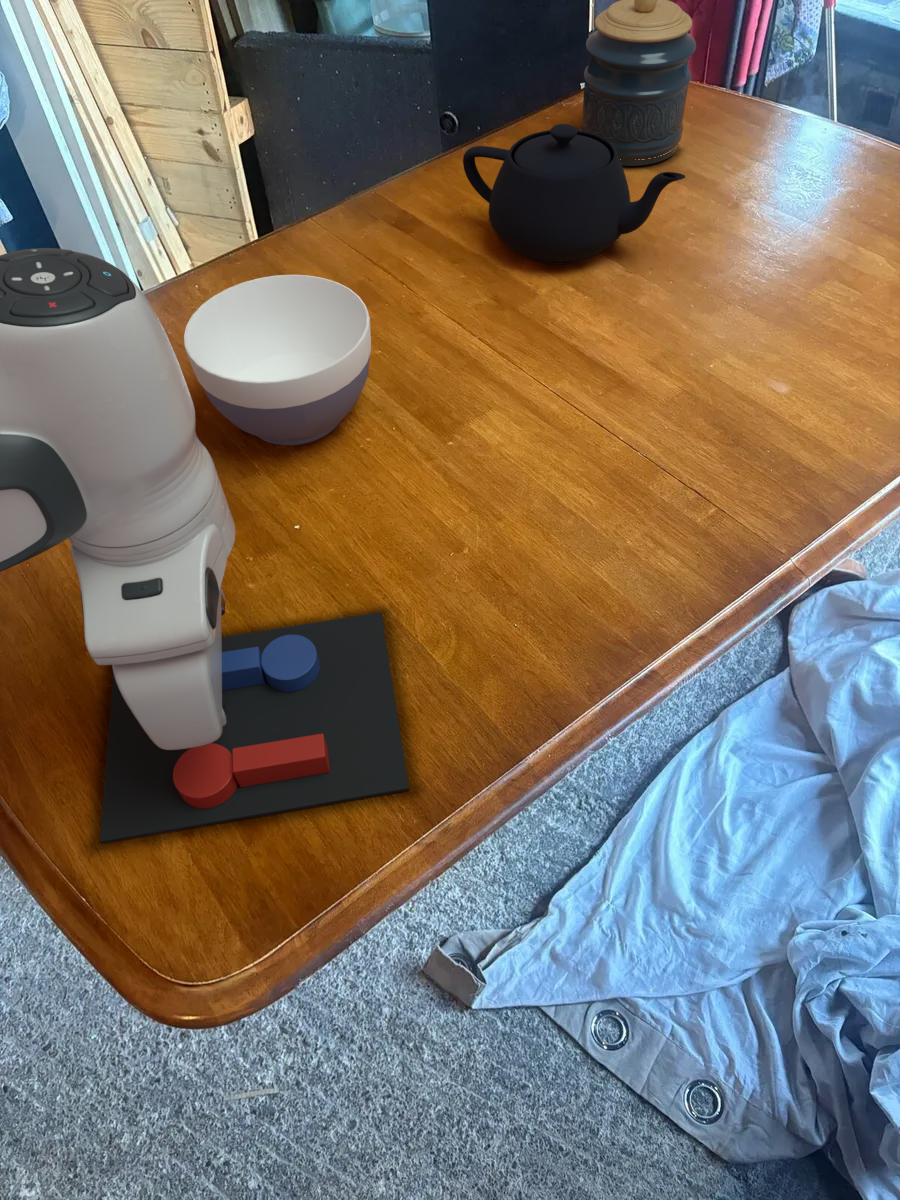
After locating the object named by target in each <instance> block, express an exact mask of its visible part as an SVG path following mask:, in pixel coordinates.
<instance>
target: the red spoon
mask: <svg viewBox="0 0 900 1200" xmlns="http://www.w3.org/2000/svg"><path fill="white" fill-rule="evenodd" d="M232 754H233V756H232ZM232 754H231V753H230V752H229V750H228V749H226V748H225V747H223V746H221V745H218V744H214V743H210V744H206V745H203V746H198V747H193V748H191V749H189V750H188V751H186V752H185V753H184V754H183V755H182V756H181V757H180V758H179V760H178V761H177V763H176V765H175V767H174V771H173V781H174V784H175V786H176V788H177V790H178V791H179V793H180V795H181V796H182V798H183V799H184V801H185V802H186V803H188V804H189V805H191V806H193V807H196V808H212V807H215V806H218V805H220V804H222V803H223V802H225V801H226V800H228V799H229V798H230V797H231V796H232V794H233V793H234V792H235V790H236V788H237V786H238V784H239V786H240V787H246V786H252V785H258V784H264V783H270V782H275V781H281V780H287V779H293V778H299V777H305V776H311V775H317V774H322V773H328V772H330V765H329V755H328V748H327V745H326V741H325V738H324V734H316V735H310V736H304V737H298V738H292V739H286V740H280V741H274V742H268V743H262V744H256V745H250V746H244V747H238V748H233V750H232Z"/></svg>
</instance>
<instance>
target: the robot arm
mask: <svg viewBox="0 0 900 1200" xmlns="http://www.w3.org/2000/svg"><path fill="white" fill-rule="evenodd" d="M186 381H187V380H186V378H185V377H184V374H183V371H182V368H181V365H180V363H179V360H178V358H177V355H176V353H175V351H174V348H173V346H172V343H171V341H170V339H169V337H168V335H167V333H166V330H165V328H164V326H163V324H162V323H161V320H160V319H159V316H158V315H157V313H156V311H155V310H154V308H153V306H152V305H151V302H150V301H149V299H148V298H147V297H146V295H145V294H144V292H143V291H142V290H141V289H140V288H139V286H138V285H137V284H136V283H135V282H134V281H133V280H132V279H131V277H129V276H128V275H127V274H126V273H125V272H123V271H122V270H121V269H119V268H118V267H117V266H115V265H114V264H112V263H110V262H108V261H106V260H104V259H101V258H100V257H97V256H94V255H91V254H87V253H84V252H78V251H73V250H71V249H65V248H56V247H55V248H53V247H52V248H51V247H40V248H39V247H37V248H26V249H19V250H15V251H10V252H7V253H4V254H3V253H2V254H1V255H0V573H1V572H4V571H6V570H8V569H11V568H13V567H15V566H17V565H19V564H21V563H23V562H27V561H28V560H30V559H32V558H34V557H36V556H39V555H40V554H42V553H45V552H46V551H49V550H50V549H52V548H54V547H56V546H58V545H59V544H61V543H62V542H64V541H66V540H69V542H70V544H71V546H70V554H71V558H72V561H73V565H74V567H75V570H76V574H77V579H78V583H79V589H80V600H81V608H82V609H81V610H82V624H83V631H84V644H85V647H86V650H87V652H88V654H89V656H90V657H91V659H92V660H93V662H94V663H95V664H96V665H98V666H111V667H112V673H114V676H115V680H116V683H117V685H118V688H119V690H120V692H121V694H122V696H123V698H124V700H125V702H126V703H127V705H128V707H129V708H130V710H131V711H132V713H133V714H134V716H135V717H136V719H137V720H138V722H139V723H140V725H141V726H142V728H143V729H144V731H145V732H146V733H147V735H148V736H149V737H150V739H151V740H152V741H153V742H154V743H155V744H156V745H157V746H158V747H159V748H161V749H165V750H179V749H187V748H193V747H198V746H203V745H206V744H210V743H212V742H214V741H216V740H218V739H219V738H220V737H221V735H222V730H223V726H224V725H225V724H226V704H225V702H224V699H223V697H222V637H223V636H222V635H223V634H222V633H223V630H222V629H223V627H222V626H223V625H222V623H223V621H222V616H224V615H225V614H226V595H225V593H224V591H223V587H222V583H223V580H224V576H225V572H226V568H227V562H228V559H229V557H230V555H231V552H232V551H233V548H234V545H235V541H236V525H235V520H234V518H233V515H232V512H231V509H230V505H229V504H228V500H227V497H226V495H225V492H224V489H223V486H222V483H221V480H220V477H219V474H218V471H217V468H216V465H215V463H214V460H213V458H212V456H211V454H210V452H209V451H208V449H207V448H206V446H205V445H204V444H203V443H202V442H201V440H200V439H199V437H198V436H197V432H196V425H197V424H196V422H197V419H196V409H195V405H194V401H193V398H192V396H191V393H190V391H189V387H188V385H187V382H186Z"/></svg>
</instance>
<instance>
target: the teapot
mask: <svg viewBox="0 0 900 1200" xmlns="http://www.w3.org/2000/svg"><path fill="white" fill-rule="evenodd" d="M476 158H484V159H485V158H486V159H492V160H498V161H503V162H502V164H501V166H500V168H499V171H498V173H497V174H496V175H497V176H496V177H495V181H494V183H493V186H492V188H491V187H490V186H489V185H488V184H487V183H486V182H485V181H484V179H483V178H482V176H481V174H480V172H479V169H478V167H477V165H476ZM462 166H463V170H464V173H465V175H466V178H467V180H468V182H469V183H470V185H471V186H472V188H473V189H474V190H475V192H476V193H477V194H478V195H479V196H480V197H481V198H483V200H485V201H486V202H487V203H488V218H489V219H488V220H489V222H490V226H491V228H492V230H493V232H494V234H495V235H496V236H497V237H498V239H499V240H500V241H501V242H502V243H504V244H505V245H506V246H507V247H509V248H510V249H511V250H512V251H513V252H515V253H516V254H518V255H519V256H521V257H523V258H526V259H528V260H531V261H533V262H538V263H544V264H551V265H552V264H554V265H562V264H563V265H564V264H575V263H578V262H582V261H585V260H588V259H591V258H593V257H594V256H596V255H598V254H600V253H602V251H604V250H606V249H607V248H608V247H610V246H611V245H612V244H613V243H615V242H616V241H617V240H618V239H619V238H620V237H621V235H626V234H630V233H632V232H634V231H636V230H638V229H639V228H640V227H641V226H643V225H644V224H645V222H646V221H647V220H648V218H649V217H650V215H651V214H652V211H653V210H654V207H655V205H656V202H657V200H658V199H659V196H660V194H661V193H662V191H663V190H664V189H665V188H666V187H667V186H668V185H670V184H672V183H674V182H677V181H680V180H683V179H685V178H686V175H685V174H683V173H681V172H680V173H679V172H674V171H663V172H659V173H658V174H656V175H655V176H654V177H653V178H652V179H651V180H650V181H649V183H648V185H647V186H646V188H645V191H644V193H643V195H642V196H641V198H639V199H638V200H636V201H631V195H630V188H629V184H628V181H627V177H626V173H625V171H624V168H623V167H624V166H622V164H621V162H620V159H619V156H618V153H617V151H616V149H615V148H614V146H613V145H612V144H611V143H610V142H609V141H607V140H606V139H604V138H602V137H600V136H597V135H595V134H592V133H588V132H583V131H580V130H578V128H577V127H576V126H574V125H573V124H569V123H559V124H555V125H553V126H552V127H551V128H550V129H549V130H548V129H547V130H543V131H542V130H541V131H538V132H534V133H531V134H527V135H526V136H523V137H522V138H520V139H519V140H517V141H516V142H515V143H513V145H512V146H511V147H510V148H509V149H507V148H500V147H495V146H486V145H477V146H476V145H475V146H471V147H469V148H468V149H467V150H466V151H465V152H464V154H463V156H462Z"/></svg>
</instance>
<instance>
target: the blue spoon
mask: <svg viewBox="0 0 900 1200" xmlns="http://www.w3.org/2000/svg"><path fill="white" fill-rule="evenodd" d="M319 669H320V663H319V659H318V655H317V651H316V648H315V646H314V644H313V643H312V642H311V641H310V640H309V639H307V638H305V637H303V636H300V635H285V636H281V637H279V638H276V639H275V640H273V641H272V642H270V643H269V644H268V645H267V646H266V648H265V649H264V651H263V653H262V656H261V653H260V650H259V647H252V648H246V649H239V650H233V651H227V652H222V690H228V689H234V688H240V687H246V686H253V685H259V684H264V683H265V677H266V680H267V682H268V683H269V684H270V685H271V686H272V687H273V688H275V689H277V690H280V691H283V692H294V691H298V690H301V689H304V688H305V687H307V686H309V685H310V684H311V683H312V682H313V681H314V680H315V679H316V677H317V675H318V673H319Z"/></svg>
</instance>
